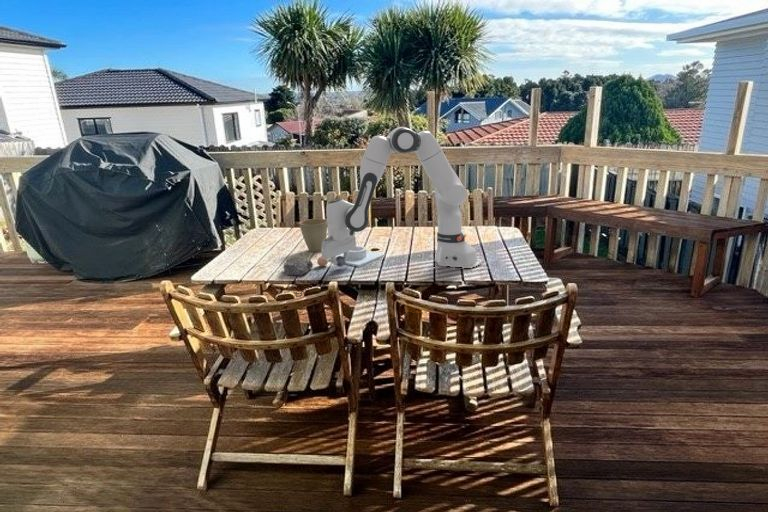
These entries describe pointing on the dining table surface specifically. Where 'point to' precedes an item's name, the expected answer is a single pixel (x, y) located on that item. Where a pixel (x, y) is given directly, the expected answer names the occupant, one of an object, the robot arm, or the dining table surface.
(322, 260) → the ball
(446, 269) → the dining table surface
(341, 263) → the steel ball
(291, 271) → the rock
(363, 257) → the ring plate
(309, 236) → the plant pot
